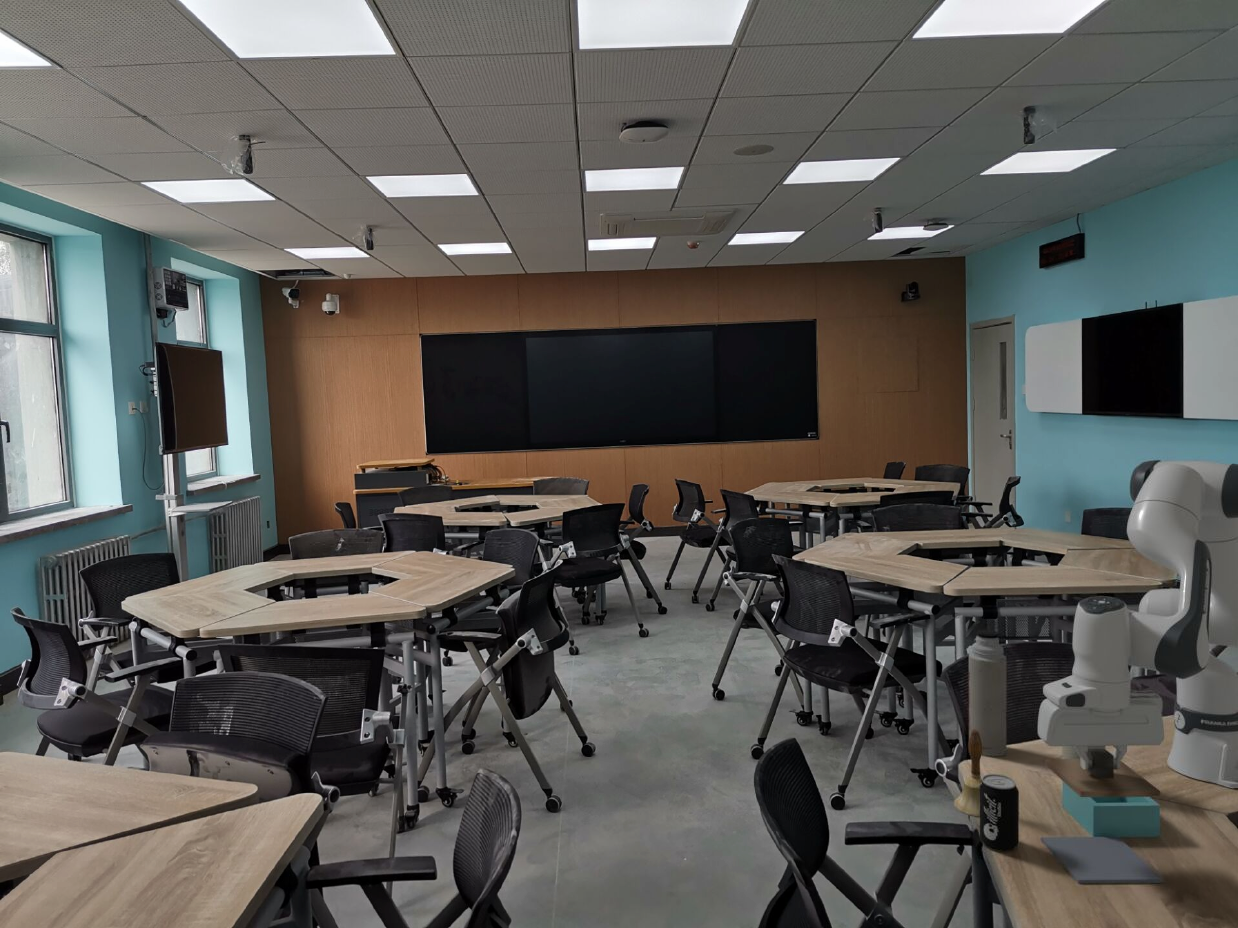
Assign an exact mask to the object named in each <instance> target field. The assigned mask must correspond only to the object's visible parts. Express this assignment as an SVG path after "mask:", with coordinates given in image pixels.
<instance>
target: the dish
mask: <svg viewBox="0 0 1238 928" xmlns="http://www.w3.org/2000/svg"><path fill="white" fill-rule="evenodd" d="M1061 787H1062V793H1061V794H1062V796H1061V797H1062V799H1061V800H1062V802H1061V804H1062V808H1063V809H1064V810H1065V811H1066V812H1067V813H1068V814H1069V815H1070V816H1071V817H1072V818H1073V819H1074V820H1075V821H1076V822H1077V823H1078V824H1080V826H1081V827H1082V828H1083V829H1084V830H1085V831H1087V833H1089V834H1090V835H1091V836H1090V837H1119V838H1159V837H1160V835H1161V832H1160V829H1161V828H1160V827H1161V823H1160V822H1161V820H1160V819H1161V815H1160V814H1161V805H1160V804H1158V802H1156V801H1155V800H1154V799H1152V797H1080V796H1079V795H1078V794H1077V793H1075V792H1074V791H1073V790H1072V789H1071V788H1070V787H1069V786H1068V785H1067V784H1066V783H1065V782H1064V781H1062V786H1061Z"/></svg>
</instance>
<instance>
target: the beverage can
mask: <svg viewBox="0 0 1238 928" xmlns="http://www.w3.org/2000/svg"><path fill="white" fill-rule="evenodd" d="M981 779H982V782H981V784H980V817H979V839H980V841H981V842H982V843H983V844H984V845H985V846H986V847H987V848H989V849H991V850H994V851H999V852H1010V851H1013V850H1014V849H1016V848H1017V847H1019V843H1020V842H1019V839H1020V834H1019V831H1020V829H1019V828H1020V826H1019V825H1020V824H1019V823H1020V822H1019V821H1020V820H1019V819H1020V816H1019V813H1020V811H1019V810H1020V808H1019V807H1020V806H1019V805H1020V803H1019V801H1020V800H1019V798H1020V796H1019V795H1020V792H1019V789H1018V787H1017V781H1016V780H1015V779H1013V778H1012V777H1009V776H1006V775H1003V774H997V773H996V774H995V773H991V774H990V773H989V774H986V775H983V776H982V777H981Z"/></svg>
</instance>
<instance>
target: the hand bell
mask: <svg viewBox="0 0 1238 928" xmlns="http://www.w3.org/2000/svg"><path fill="white" fill-rule="evenodd" d="M967 746H968V753H969V756H970V759H971V765H970V767H971V769H970V771H971V776H970V777H967V778H965V779H964V781H963V786H962V791H961V794H960V795H959V796H958V797H956V799H955V800H954V802H953V807H954V808H955V809H956V810H957V811H959V812H960V813H962V814H964V815H965V816H969V817H974V818H980V784H981V782H982V777H981V759H982V758H981V757H982V756H983V755H982V741H981V738H980V736H979V732H978V731H977V730H972V731H971V735H970V738H969V737H968V743H967Z"/></svg>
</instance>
